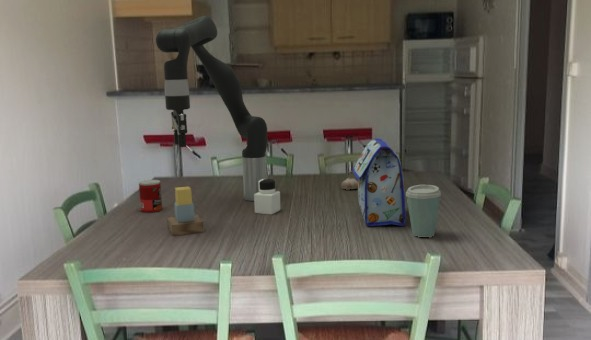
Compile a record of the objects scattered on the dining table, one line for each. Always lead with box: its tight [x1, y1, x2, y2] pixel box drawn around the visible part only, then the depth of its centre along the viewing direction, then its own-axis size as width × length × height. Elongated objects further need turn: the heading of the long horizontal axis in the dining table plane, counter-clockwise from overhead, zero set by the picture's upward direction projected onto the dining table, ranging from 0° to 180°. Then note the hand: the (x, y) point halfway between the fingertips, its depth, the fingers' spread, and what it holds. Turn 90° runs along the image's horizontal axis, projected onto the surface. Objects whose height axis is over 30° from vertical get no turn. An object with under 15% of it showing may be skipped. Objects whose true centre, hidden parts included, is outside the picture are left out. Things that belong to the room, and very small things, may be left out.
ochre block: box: [174, 186, 193, 206], centre depth 184 cm, size 4×4×5 cm
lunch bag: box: [352, 137, 407, 227], centre depth 192 cm, size 23×17×27 cm
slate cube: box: [173, 201, 196, 223], centre depth 185 cm, size 6×6×6 cm
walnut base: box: [166, 214, 205, 237], centre depth 185 cm, size 10×10×4 cm
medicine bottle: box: [253, 178, 281, 216], centre depth 206 cm, size 7×7×12 cm
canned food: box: [138, 179, 163, 213], centre depth 213 cm, size 8×8×11 cm
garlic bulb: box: [340, 170, 358, 191], centre depth 241 cm, size 8×7×8 cm
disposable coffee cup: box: [405, 184, 442, 238], centre depth 172 cm, size 11×11×15 cm
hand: (180, 145), depth 181 cm, fingers open, 8 cm apart
